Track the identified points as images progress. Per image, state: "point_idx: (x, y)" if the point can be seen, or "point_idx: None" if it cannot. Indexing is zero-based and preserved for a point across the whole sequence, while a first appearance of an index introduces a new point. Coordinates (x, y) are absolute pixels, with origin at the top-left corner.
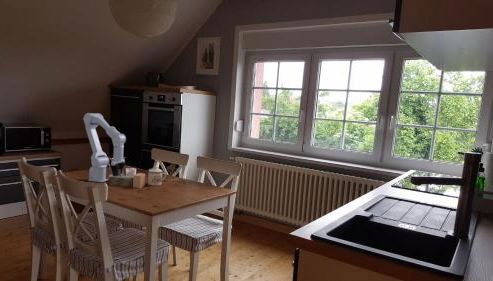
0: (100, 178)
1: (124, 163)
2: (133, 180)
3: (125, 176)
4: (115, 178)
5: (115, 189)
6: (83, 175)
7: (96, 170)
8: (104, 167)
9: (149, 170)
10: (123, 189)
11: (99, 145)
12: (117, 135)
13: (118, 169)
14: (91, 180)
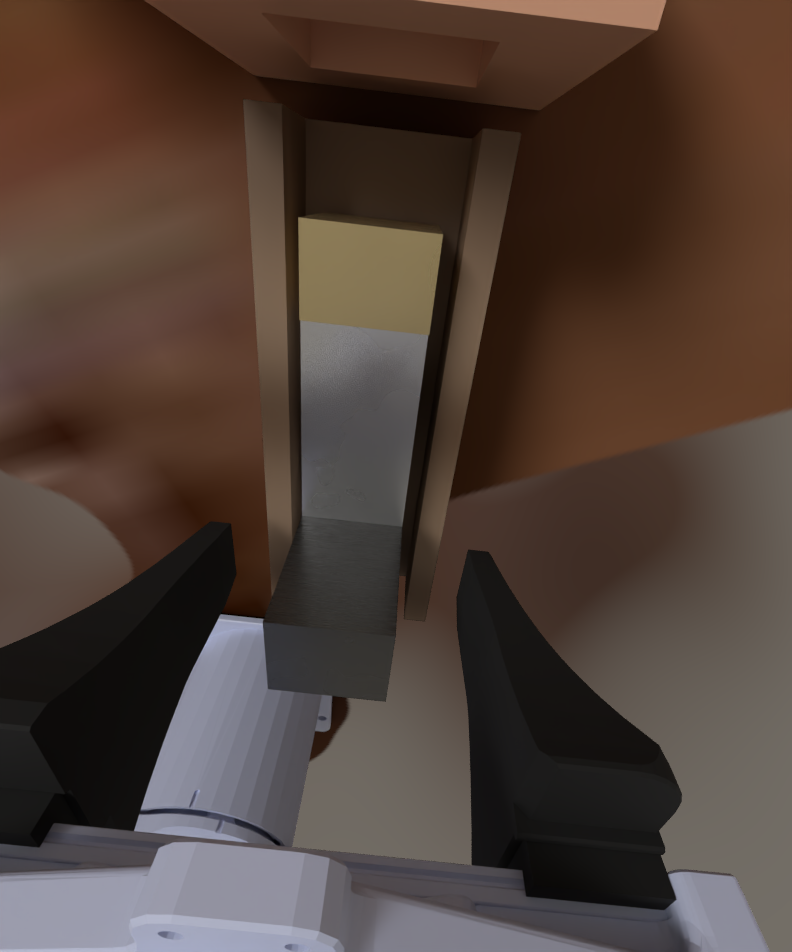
0: None
1: (38, 727)
2: (588, 70)
3: (376, 391)
4: (440, 532)
5: (712, 388)
6: None
7: (297, 817)
8: (215, 821)
9: None
10: (717, 259)
11: None
12: None
13: (343, 648)
14: (330, 711)
